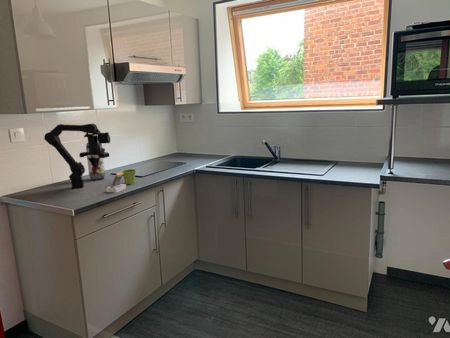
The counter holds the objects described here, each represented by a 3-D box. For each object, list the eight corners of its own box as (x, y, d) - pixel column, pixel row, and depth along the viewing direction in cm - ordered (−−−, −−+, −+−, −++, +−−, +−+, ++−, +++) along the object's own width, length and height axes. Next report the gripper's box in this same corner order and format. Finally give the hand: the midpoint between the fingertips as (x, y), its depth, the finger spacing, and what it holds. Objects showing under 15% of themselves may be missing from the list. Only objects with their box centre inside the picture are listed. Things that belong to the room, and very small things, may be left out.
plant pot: (125, 186, 221) (124, 172, 220) (120, 183, 229) (119, 170, 227) (139, 183, 227) (138, 170, 225) (133, 181, 234) (132, 168, 232)
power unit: (106, 191, 209) (106, 185, 208) (116, 187, 218) (116, 181, 217) (116, 192, 206) (115, 185, 206) (126, 188, 216) (125, 181, 215)
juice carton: (89, 178, 246) (85, 140, 240) (105, 177, 249) (101, 139, 244) (89, 181, 238) (85, 142, 232) (105, 179, 241) (101, 141, 236)
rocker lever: (111, 185, 209) (115, 173, 207) (116, 183, 214) (121, 172, 212) (113, 187, 209) (118, 175, 206) (118, 184, 214) (123, 173, 211)
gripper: (113, 142, 221) (115, 166, 224) (89, 142, 227) (92, 165, 230) (102, 144, 211) (104, 169, 214) (77, 144, 217) (80, 168, 220)
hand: (95, 168), depth 220 cm, fingers closed
